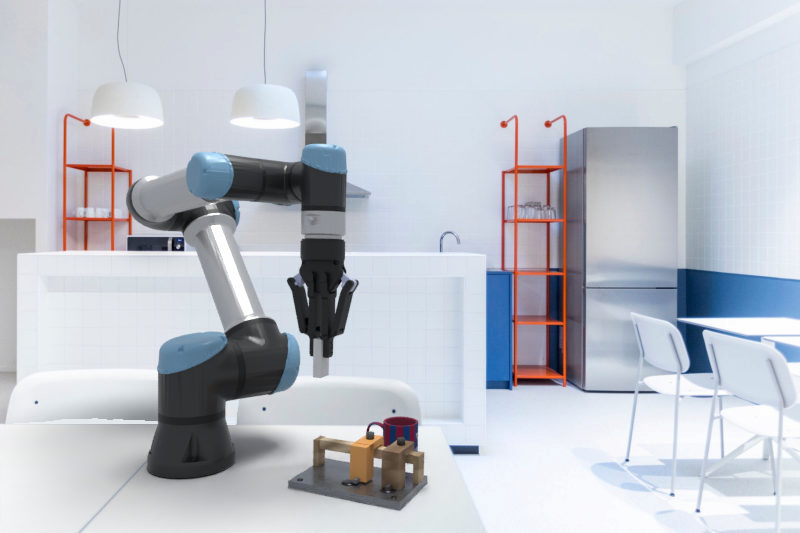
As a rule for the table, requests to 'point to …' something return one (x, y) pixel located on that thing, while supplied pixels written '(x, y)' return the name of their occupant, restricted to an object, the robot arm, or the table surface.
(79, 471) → the table surface
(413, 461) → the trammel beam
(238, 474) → the table surface
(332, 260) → the robot arm
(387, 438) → the mug
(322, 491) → the flange plate
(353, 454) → the slider leg
